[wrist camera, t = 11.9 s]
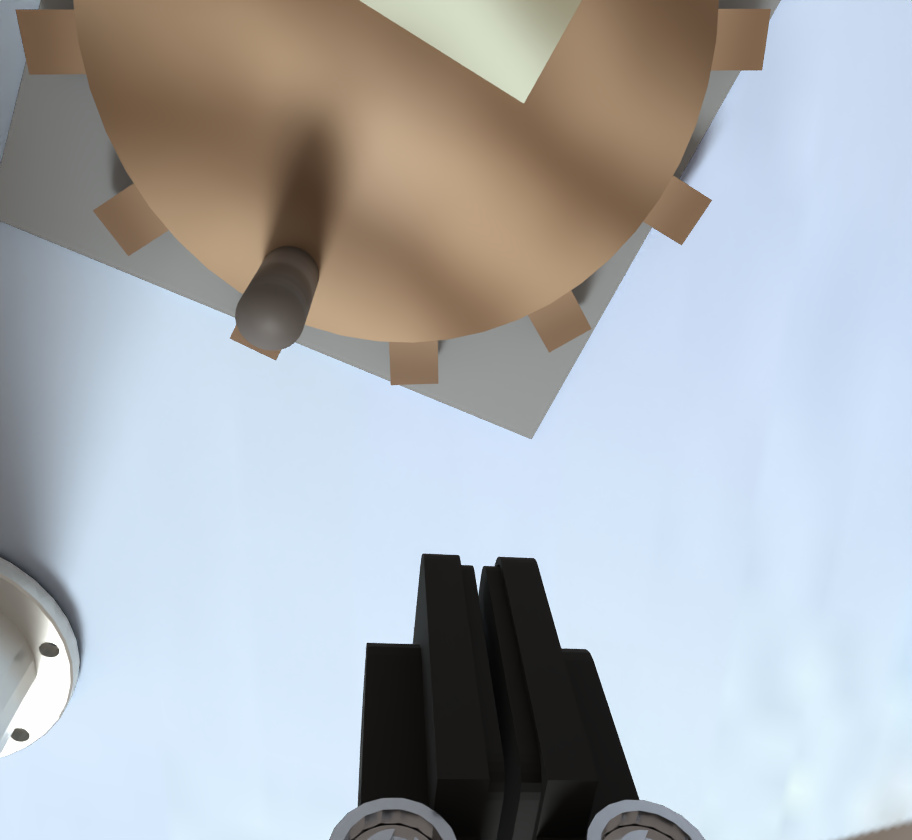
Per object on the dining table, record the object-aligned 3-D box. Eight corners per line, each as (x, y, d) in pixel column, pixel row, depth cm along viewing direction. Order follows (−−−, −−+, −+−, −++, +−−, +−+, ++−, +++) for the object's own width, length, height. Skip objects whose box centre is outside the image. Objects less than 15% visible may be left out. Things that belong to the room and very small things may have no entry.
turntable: (518, 461, 34) (545, 551, 28) (-59, 181, 27) (-185, 219, 21) (897, -108, 26) (1049, -154, 20) (208, -683, 19) (126, -1005, 14)
